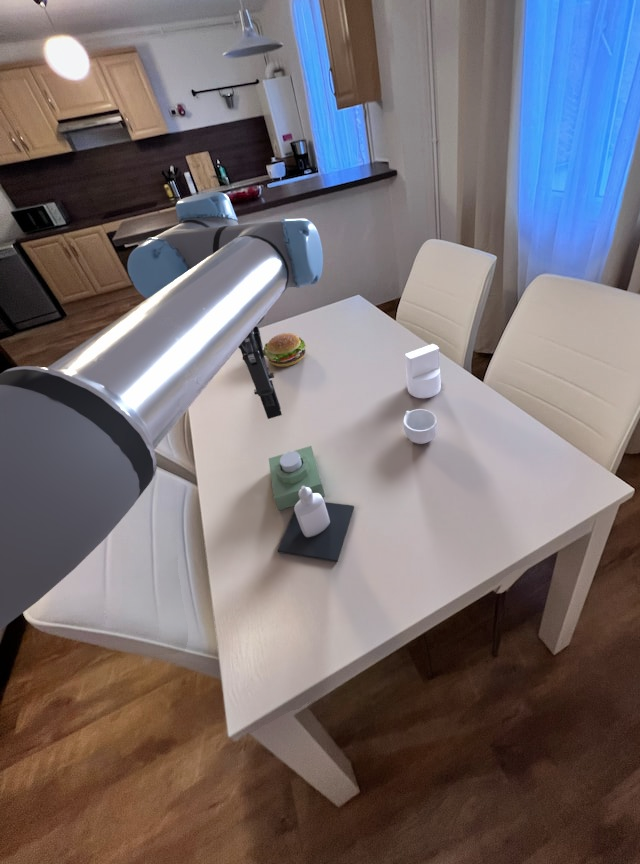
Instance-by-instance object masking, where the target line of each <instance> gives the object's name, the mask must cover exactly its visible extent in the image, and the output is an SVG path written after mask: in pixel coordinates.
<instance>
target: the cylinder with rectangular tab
mask: <svg viewBox="0 0 640 864" xmlns="http://www.w3.org/2000/svg"><path fill="white" fill-rule="evenodd" d="M404 356H405V357H404V358H405V359H404V360H405V370H406V371H405V372H406V373H405V374H406V385H407V386H406V387H407V391H408V394H409V395H411V396H412V397H414V398H418V399H428V398H433V397H434V396H436V395H438V394H439V393H440V391H441V389H442V388H441V387H442V386H441V368H440V367H441V365H440V364H441V363H440V362H441V361H440V347H439V346H438V345H436V344H435V343H430V344H428V345H426V346H423V347H420V348H417V349H414V350H412V351H409V352H406V353H405V354H404Z"/></svg>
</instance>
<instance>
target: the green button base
mask: <svg viewBox="0 0 640 864" xmlns="http://www.w3.org/2000/svg"><path fill="white" fill-rule="evenodd" d="M293 451H294V452H297V453H299V455H300V457H301V461H302V466H301V468H300V469H299V470H297V471H296V472H293V473H286V472H284V471H283V470H282V467H281V464H280V458H281V457H282V455H284V454H285V453H282V454H278V455H276V456H273V457H269V458H268V464H269V471H270V478H271V479H270V480H271V487H272V494H273V500H274V502H275V505H276V507H277V509H278V511H283V510H286V509H288V508H292V507H295V505H296V504H297V502H298V501H299V500H300V498H299V495H298V493H299V491H300V489H301V487H302V486H305V487H309V488H310V489H311V490H312V493H319V494H320V495H321V496H322V498H323V497H325V496H326V494H325V490H324V486H323V484H322V478H321V475H320V472H319V468H318V465H317V461H316V457H315V453H314V450H313V447H312V445H308V446H305V447H302V448H299V449H296V450H293Z"/></svg>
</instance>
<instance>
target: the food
mask: <svg viewBox="0 0 640 864" xmlns="http://www.w3.org/2000/svg"><path fill="white" fill-rule="evenodd" d="M306 346H307V345H306V343H305V341H304V340H303V339H302V338H301V337H299V336H298V335H297V334H294V333H290V332H287V333H286V332H285V333H280V334H277V335H275V336H273V337H272V338H271V339H269V341H268V342H266V343H265V344H264V347H263V351H264V357H266V358H267V359H268V362H270V364H272V365H273V366H275V367H278V368H279V367H281V368H282V367H290V366H293V365H295V364H297V363H299V362H300V361H302V360H303V359H304V357H305V354H306Z"/></svg>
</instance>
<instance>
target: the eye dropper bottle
mask: <svg viewBox="0 0 640 864" xmlns="http://www.w3.org/2000/svg"><path fill="white" fill-rule="evenodd" d="M298 495H299V498H300V500H299V501H298V502H297V504H296V505H295V506H293V512H294V511H295V514H296V517H297V519H298V522H299V525H300V527H301V530H302V532H303V534H304V535H305V536H306V537H312V536H315V535H317V534H319V533H321V532H322V531H324V530H325V529H326V528H327V527H328V525H329V524H330V519H329V516H328V512H327V509H326V506H325V502H326V501H325V500H324V498H323V497H322V496H321V495H320V494H319V493H312V490H311V489H310V488H309V487H305V486H302V487H301V489H300V491H299V493H298Z"/></svg>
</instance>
